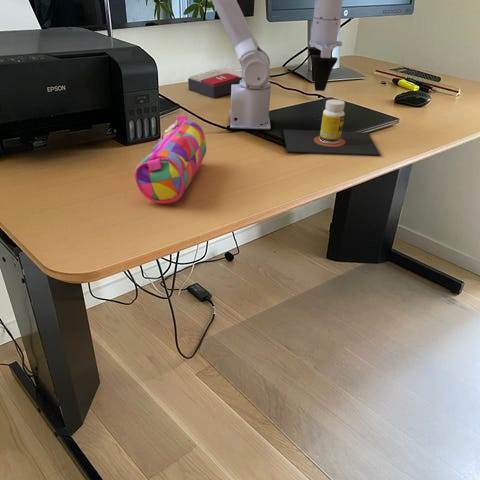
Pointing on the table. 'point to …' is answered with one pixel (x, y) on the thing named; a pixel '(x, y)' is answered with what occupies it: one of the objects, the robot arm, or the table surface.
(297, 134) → the desk mat
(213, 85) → the red and black box
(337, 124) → the supplement bottle
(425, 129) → the table surface
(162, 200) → the pencil case
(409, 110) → the table surface
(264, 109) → the robot arm
